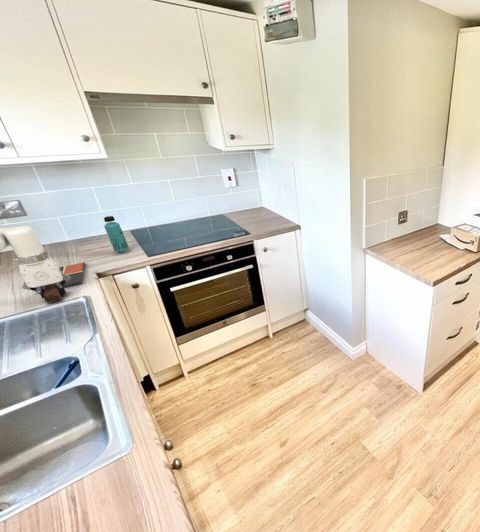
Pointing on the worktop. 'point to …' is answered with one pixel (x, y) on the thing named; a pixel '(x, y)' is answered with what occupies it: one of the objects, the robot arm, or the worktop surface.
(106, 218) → the beverage bottle
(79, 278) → the board
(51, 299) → the brick
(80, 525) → the worktop surface
